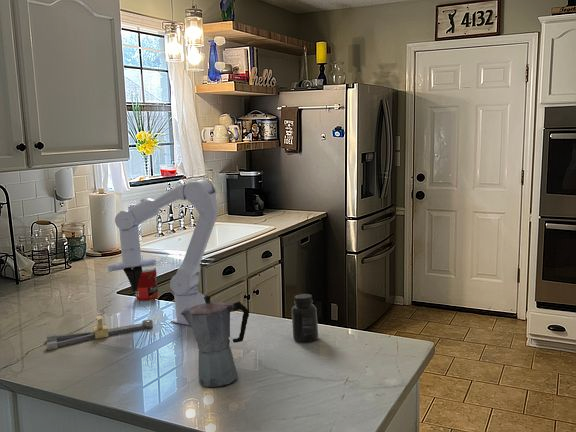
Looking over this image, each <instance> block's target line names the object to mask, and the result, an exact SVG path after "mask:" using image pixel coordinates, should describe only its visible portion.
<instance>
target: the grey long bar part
mask: <svg viewBox="0 0 576 432" xmlns="http://www.w3.org/2000/svg"><path fill="white" fill-rule="evenodd" d="M152 327H153V328H154V324H153V319H148V318H147V319H144V320H142V322H141V323H135V324H129V325H125V326H119V327H112V328H107V329H108V337H110V336H115V335H121V334H127V333H132V332H137V331H144V330H150V329H153V328H152ZM93 339H95V333H94V331H84V332H77V333H76V332H75V333H68V334H67V333H66V334H60V335H59V334H58V335H57V333H51V334H46V347H47V351H53V350H58V348H62V347H66V346H70V345H74V344H78V343H82V342H86V341H90V340H93Z"/></svg>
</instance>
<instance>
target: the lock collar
mask: <svg viewBox="0 0 576 432" xmlns="http://www.w3.org/2000/svg"><path fill="white" fill-rule="evenodd" d="M92 329H93V330H92V332H94V333H95V338H94V339H97V340H98V339H102V338H108V337H109V336H108V329H109V328H108V327H107V324H106V323H103V318H102V316H101V315H96V325H92Z"/></svg>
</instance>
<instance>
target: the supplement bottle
mask: <svg viewBox="0 0 576 432" xmlns="http://www.w3.org/2000/svg"><path fill="white" fill-rule="evenodd" d="M293 298H294V299H293V300H294V302H293V303H294V305H293V306H292V307H291V322H292V337H293V340H294V341H295V342H297V343H300V344H301V343H302V344H305V343H307V344H308V343H312V342H315V341H317V340H318V338H319V329H318V327H319V326H318V310H317V307H316V305H315V304H313V302H314V301H313V295H312V294H308V293H300V294H296V295H294V297H293Z"/></svg>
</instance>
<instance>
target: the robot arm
mask: <svg viewBox="0 0 576 432" xmlns="http://www.w3.org/2000/svg"><path fill="white" fill-rule="evenodd" d="M179 200H182V201H186V200H187V201H188V202H189V203H190V204H191V205H192V206H193V207H195V210H196V211H197V212H198V214H199V215H198V218H197V221H196V224H195V226H194V229H193V231H192V236H191V238H190V241H189V243H188V247H187V249H186V252H185V255H184V258H183V261H182V262H181V264H180V265H179V267H178V269H177V271H176V274H174V275H173V276H172V277H171V278H170V281H169V286H170V289H171V290H172V292H173V293H174V294H173V295H174V304H175V316H176V317H175V318H173V319H171V320H170V323H176V324H182V325H187V326H190V325H189V324H188V322H187V321H186V319H185V317H184V316H183V315H181V312H182V311H184V310H185V309H187V308H191V307H194V306H196V305H199V304H203V303H205V300H204V297H205V296H206V295H204V294H202V293H200V292H199V288H198V286H197V285H199V283H200V279H201V277H200V273H201V272H200V271H201V268H202V267H201V262H202V261H203V260H202V259H203V258H204V253H205V250H206V248H207V246H208V243H209V240H210V237H211V234H212V232H213V228H214V227H215V224H216V221H217V218H218V215H219V207H218V201H217V200H218V199H217V189H216V188H215V186H214V184H213V183H212V181H210V180H209V179H207V178H201V179H198V180H192V181H188V182H187V183H184V184H180V185H178V186H175V188H172V189H171V190H169V191H167V192H165V193H164V194H162V195H160V196H159V197H157V198H155V199H153V198H150V197H149V198H146V197H145V198H142V199H140V202H138V203H137V204H134V205H129V206H128V207H127V209H126V210H120V211H119V212H118V213H117V214H116V215H115V218H114V223H115V225H116V227H117V228H118V229H119V241H120V251H121V252H120V253H121V260H122V261H121V262H116V263H111V264H107V270H108V271H107V272H109V273H113V272H117V271H123V272H124V273H125V276H126V277H127V279H128V282H129V284H130V288H131V291H132V292H133V293H134V292H135V291H137V289H138V282H139V278H140V276H141V273H142V267H146V266H154V267H156V266H157V259H156V258H147V259H146V258H145V259H142V253H141V244H140V233H139V227H140V226H139V225H140V224H142V223H144V222H147V221H148V220H150V219H151V218H154V217H156V216H158V215H159V211H160V209H162V208H164V207H166V206H168V205H170V204H172V203H174V202H176V201H179ZM135 293H136V292H135Z"/></svg>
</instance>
